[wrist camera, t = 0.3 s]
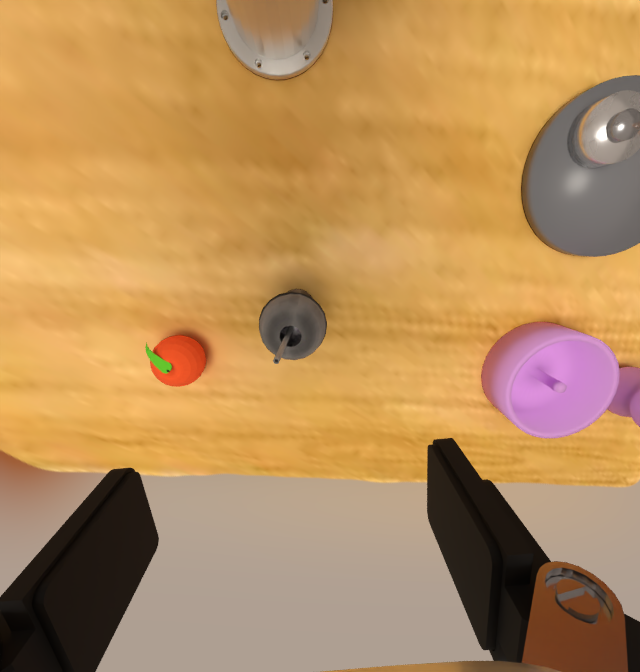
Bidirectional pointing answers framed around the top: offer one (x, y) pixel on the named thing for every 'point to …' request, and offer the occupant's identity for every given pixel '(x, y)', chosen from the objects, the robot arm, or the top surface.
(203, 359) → the tomato
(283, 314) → the beverage cup
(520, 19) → the top surface
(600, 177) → the grey domed disc
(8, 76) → the top surface
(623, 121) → the cover
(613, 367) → the container set
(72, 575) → the robot arm
